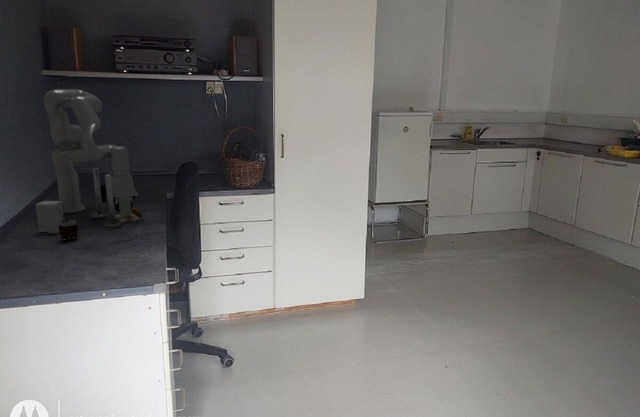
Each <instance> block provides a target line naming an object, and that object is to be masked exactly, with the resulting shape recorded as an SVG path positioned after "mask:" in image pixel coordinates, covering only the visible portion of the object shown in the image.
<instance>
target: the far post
mask: <svg viewBox="0 0 640 417" xmlns="http://www.w3.org/2000/svg"><path fill="white" fill-rule="evenodd" d="M99 175H100V172H99V167H92V177H93V185H94V186H93V187H94V195H95V203H96V205H95V206H96V212H94V213H93V214H92V215H91V217H92V219H93V220H103V219H108V218H109V212H105V211H104V212H103V205H102V204H103V203H102V202H103V201H102V198H101V192H100V186H101V184H100V176H99Z"/></svg>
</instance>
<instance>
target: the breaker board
mask: <svg viewBox="0 0 640 417" xmlns="http://www.w3.org/2000/svg"><path fill="white" fill-rule="evenodd" d="M143 220H144V218H143V214H142V211H141V210H139V209H137V208H136V207H133V208H132V210H131V215H125V216H120V215H118V214H115V221H117V222H121V224H123V223H129V222H135V221H143Z"/></svg>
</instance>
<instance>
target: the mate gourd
mask: <svg viewBox="0 0 640 417" xmlns="http://www.w3.org/2000/svg"><path fill="white" fill-rule="evenodd" d="M51 205H52V204H51ZM52 206H54V205H52ZM54 207H55V208H56V209H57V210H58V212H59V213H60V215H61V217H62V219H63V220H62V221H61V222H60V223H59V235H60V238H61V240H62V239H68V238H70V239H73V237H78V233H79V231H78V230H79V224H78V222H77V221H76V220H75V219H72V218H69V219H68V218H67V219H65V218H63V217H64V215H63V216H62V214H61V212H60V209H58V208H57V207H56V206H54ZM73 240H74V239H73Z"/></svg>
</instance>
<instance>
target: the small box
mask: <svg viewBox="0 0 640 417" xmlns="http://www.w3.org/2000/svg"><path fill="white" fill-rule="evenodd" d="M51 204H52V205H54V206H56V207H57V208H58V209H60V212H61V214H62V216H63V218H64V213H63V210H62V202H61V201H60V200H43V201H40V202H38V203H35V210H36V218H37V224H38V231H39V232H49V233H48V234H59V233H60V232H59V223H60V222H61V221H62V220H63V219H62V217H61V215H60V213H59V212H58V210H57V209H56V208H55V207H54V206H52V205H51ZM64 219H65V218H64ZM58 232H59V233H58Z"/></svg>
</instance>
